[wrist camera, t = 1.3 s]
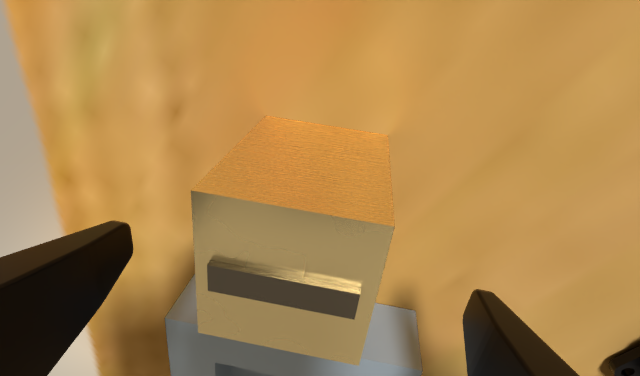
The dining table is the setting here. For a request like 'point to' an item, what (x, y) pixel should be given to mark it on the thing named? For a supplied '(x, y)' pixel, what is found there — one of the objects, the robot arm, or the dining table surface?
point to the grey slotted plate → (283, 366)
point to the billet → (294, 238)
